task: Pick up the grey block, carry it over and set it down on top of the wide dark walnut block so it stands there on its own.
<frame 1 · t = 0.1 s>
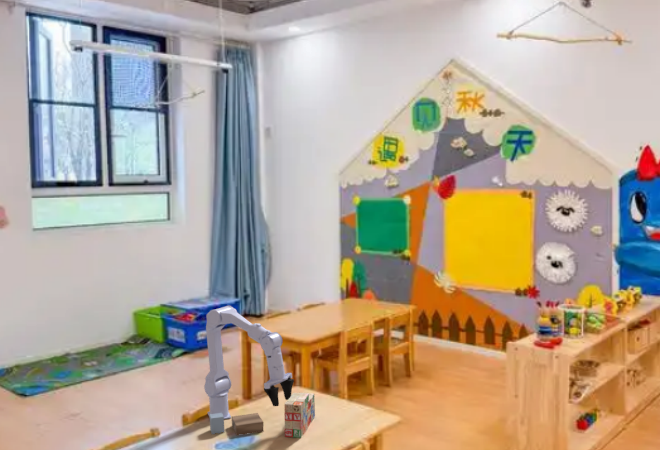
hand: (282, 402, 249), 11 cm above the table, tool pointing down, fingers open, 7 cm apart
stack of blocks: (300, 426, 253), on the table, touching gripper
grey block: (217, 431, 251), on the table
walnut base: (247, 429, 253), on the table
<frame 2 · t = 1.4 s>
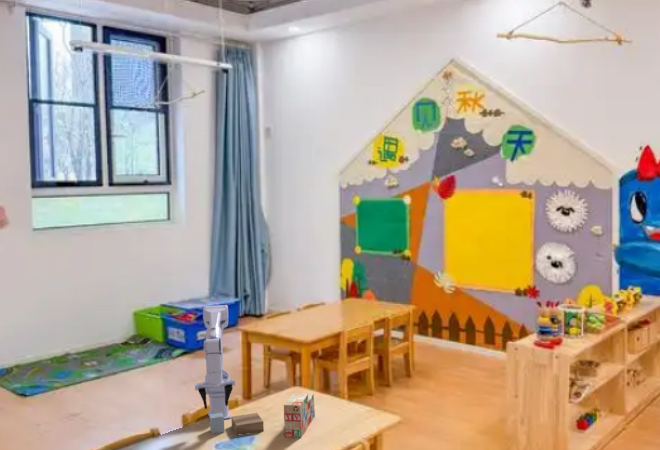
hand: (216, 406, 251), 9 cm above the table, tool pointing down, fingers open, 7 cm apart
stack of blocks: (300, 427, 253), on the table
everything else where it was.
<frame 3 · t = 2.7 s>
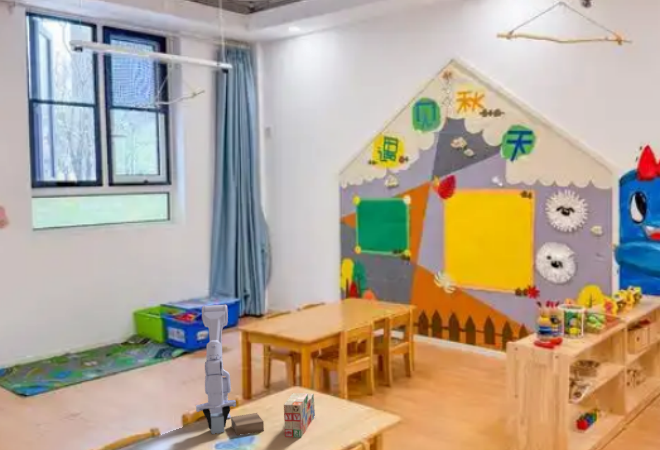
hand: (217, 427, 251), 1 cm above the table, tool pointing down, fingers closed on grey block, 5 cm apart
grey block: (217, 431, 251), on the table, touching gripper
everything else where it was.
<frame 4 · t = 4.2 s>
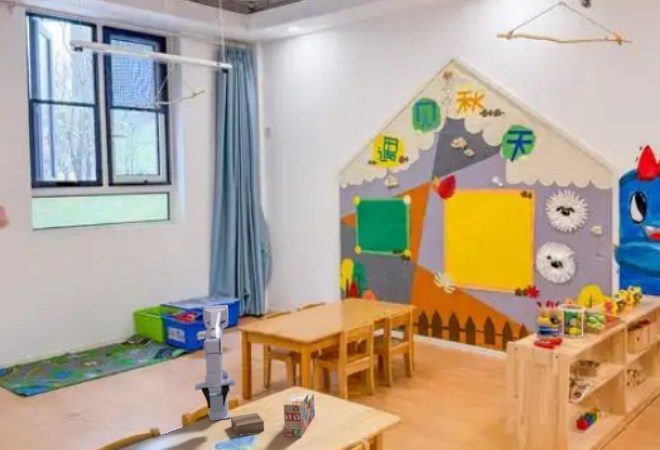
hand: (216, 406, 251), 9 cm above the table, tool pointing down, fingers closed on grey block, 5 cm apart
grey block: (216, 410, 251), point 8 cm above the table, touching gripper
everything else where it was.
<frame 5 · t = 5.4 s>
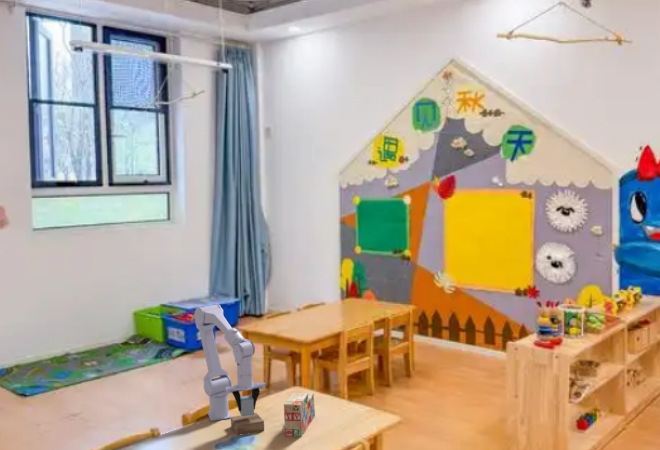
hand: (246, 409, 252), 7 cm above the table, tool pointing down, fingers closed on grey block, 5 cm apart
grey block: (246, 413, 252), point 6 cm above the table, touching gripper
everything else where it was.
when the fingers open (7 cm above the table, at t = 5.9 s): grey block drops 2 cm, point 4 cm above the table.
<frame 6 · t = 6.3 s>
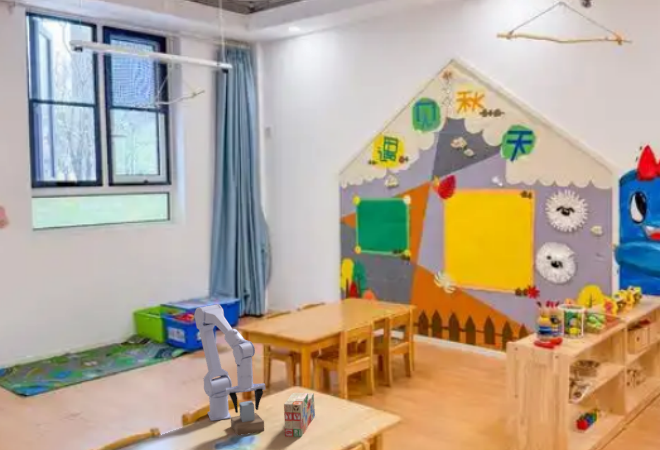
hand: (246, 410, 252), 7 cm above the table, tool pointing down, fingers open, 7 cm apart
grey block: (247, 419, 252), point 4 cm above the table
everything else where it was.
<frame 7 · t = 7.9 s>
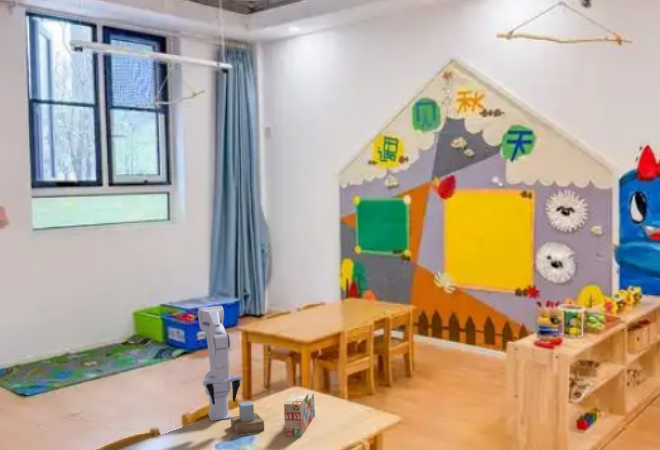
hand: (223, 402, 252), 10 cm above the table, tool pointing down, fingers open, 7 cm apart
grey block: (246, 419, 252), point 4 cm above the table, touching walnut base
walnut base: (247, 429, 253), on the table, touching grey block
everything else where it was.
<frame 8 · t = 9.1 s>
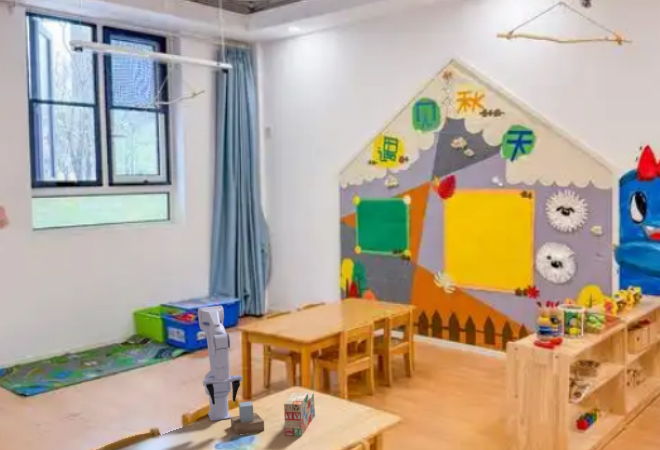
hand: (223, 402, 252), 10 cm above the table, tool pointing down, fingers open, 7 cm apart
grey block: (246, 419, 252), point 4 cm above the table
walnut base: (247, 429, 253), on the table
at the end: grey block 0.5 cm off-centre on the walnut base, point 4.0 cm above the walnut base's base; grey block tilted 0°; the gripper is holding nothing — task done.
